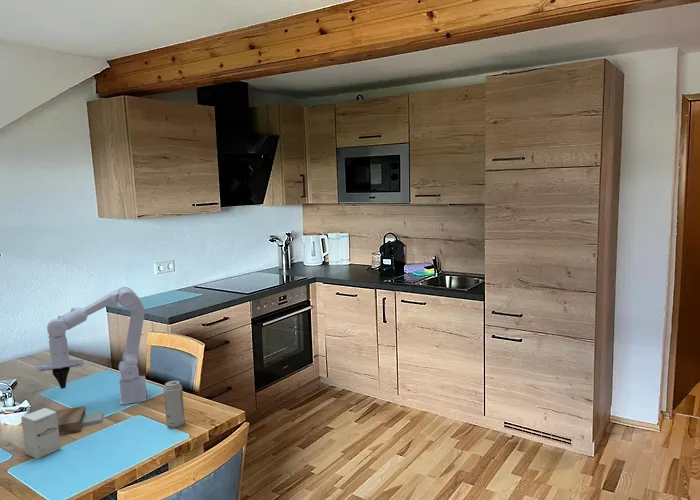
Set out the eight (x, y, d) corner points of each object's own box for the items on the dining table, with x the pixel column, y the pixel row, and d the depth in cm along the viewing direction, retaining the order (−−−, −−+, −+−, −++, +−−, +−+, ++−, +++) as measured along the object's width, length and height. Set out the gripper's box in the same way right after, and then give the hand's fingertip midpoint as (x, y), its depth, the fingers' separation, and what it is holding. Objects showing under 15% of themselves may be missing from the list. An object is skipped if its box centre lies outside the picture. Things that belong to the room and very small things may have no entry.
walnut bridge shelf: (85, 415, 188) (84, 405, 188) (80, 431, 175) (78, 421, 175) (61, 419, 185) (60, 409, 185) (53, 436, 173) (52, 426, 172)
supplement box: (37, 459, 158) (32, 421, 156) (25, 454, 162) (20, 416, 160) (61, 449, 164) (57, 411, 162) (49, 443, 168) (44, 406, 166)
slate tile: (103, 415, 188) (103, 411, 188) (101, 424, 182) (101, 419, 181) (67, 422, 184) (66, 417, 184) (63, 431, 177) (63, 426, 177)
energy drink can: (166, 422, 179) (162, 381, 178) (184, 419, 182) (180, 378, 180) (167, 430, 174) (163, 387, 172) (185, 426, 176) (182, 384, 174)
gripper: (83, 345, 193) (86, 380, 194) (39, 351, 188) (43, 386, 190) (80, 351, 186) (84, 387, 188) (34, 357, 181) (39, 393, 183)
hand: (63, 387), depth 188 cm, fingers closed
